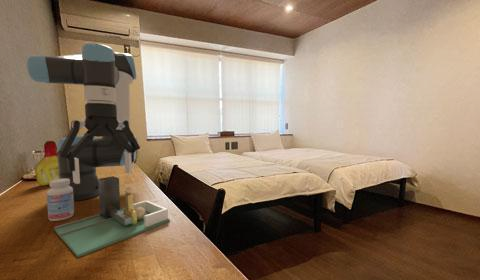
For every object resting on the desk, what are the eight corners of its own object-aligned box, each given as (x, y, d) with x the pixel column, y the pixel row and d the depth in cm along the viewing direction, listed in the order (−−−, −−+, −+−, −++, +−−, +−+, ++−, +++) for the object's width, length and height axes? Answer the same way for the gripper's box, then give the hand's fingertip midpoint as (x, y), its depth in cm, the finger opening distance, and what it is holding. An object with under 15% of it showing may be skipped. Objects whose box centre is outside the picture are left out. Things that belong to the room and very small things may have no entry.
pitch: (54, 230, 58) (54, 226, 58) (137, 206, 75) (137, 203, 75) (77, 257, 46) (77, 252, 46) (169, 221, 63) (169, 217, 63)
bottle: (37, 188, 96) (33, 142, 95) (35, 185, 100) (32, 141, 99) (71, 182, 105) (68, 140, 104) (68, 180, 109) (65, 139, 108)
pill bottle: (45, 223, 62) (42, 184, 61) (51, 215, 67) (49, 179, 66) (72, 219, 65) (70, 181, 64) (76, 211, 70) (74, 176, 69)
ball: (137, 203, 64) (144, 211, 66) (127, 212, 62) (133, 221, 64) (144, 205, 62) (150, 214, 64) (133, 215, 60) (140, 224, 61)
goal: (125, 217, 66) (125, 206, 65) (147, 210, 71) (146, 200, 71) (146, 229, 58) (145, 216, 58) (168, 220, 64) (167, 208, 63)
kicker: (100, 215, 65) (98, 178, 64) (116, 211, 68) (114, 175, 68) (120, 229, 57) (118, 187, 56) (137, 223, 60) (136, 183, 59)
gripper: (46, 99, 50) (52, 191, 52) (150, 105, 69) (152, 171, 71) (38, 100, 55) (45, 184, 57) (137, 105, 74) (140, 168, 76)
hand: (104, 177), depth 64 cm, fingers open, 13 cm apart
